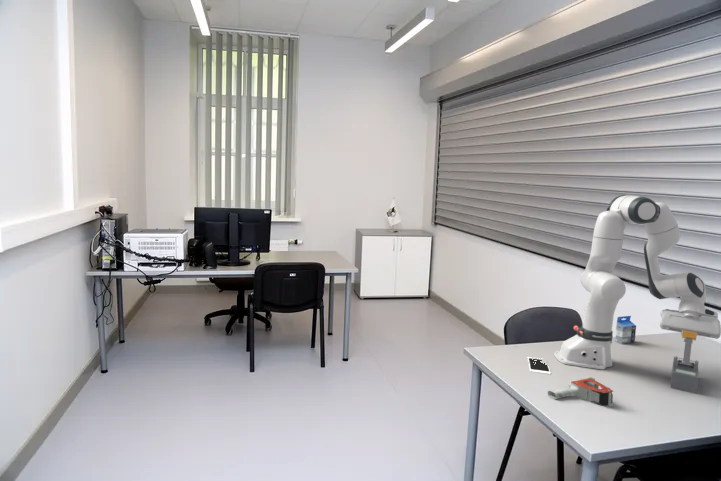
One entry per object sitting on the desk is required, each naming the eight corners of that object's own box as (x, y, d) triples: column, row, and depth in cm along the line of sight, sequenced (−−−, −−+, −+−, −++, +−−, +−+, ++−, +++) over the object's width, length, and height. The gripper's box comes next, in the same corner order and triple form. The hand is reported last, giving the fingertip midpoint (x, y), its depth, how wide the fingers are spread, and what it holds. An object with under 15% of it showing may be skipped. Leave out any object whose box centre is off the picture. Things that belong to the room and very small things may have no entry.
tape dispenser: (546, 402, 164) (610, 416, 153) (546, 388, 163) (611, 401, 152) (556, 382, 179) (615, 394, 168) (556, 369, 178) (616, 380, 167)
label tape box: (621, 344, 223) (624, 319, 222) (614, 341, 227) (617, 316, 225) (635, 342, 226) (637, 317, 225) (627, 339, 230) (630, 315, 229)
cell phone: (529, 372, 186) (529, 370, 186) (527, 358, 202) (527, 356, 201) (550, 375, 184) (551, 373, 184) (546, 360, 199) (546, 359, 199)
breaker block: (671, 370, 192) (674, 349, 191) (695, 376, 188) (698, 354, 187) (670, 387, 176) (673, 364, 175) (696, 393, 172) (699, 370, 170)
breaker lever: (677, 365, 183) (681, 331, 187) (693, 368, 180) (697, 334, 184) (678, 364, 181) (682, 329, 185) (693, 367, 178) (697, 332, 182)
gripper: (661, 304, 198) (657, 332, 191) (722, 313, 187) (720, 343, 180) (661, 312, 202) (657, 340, 196) (720, 321, 191) (718, 351, 184)
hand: (688, 341), depth 188 cm, fingers closed
